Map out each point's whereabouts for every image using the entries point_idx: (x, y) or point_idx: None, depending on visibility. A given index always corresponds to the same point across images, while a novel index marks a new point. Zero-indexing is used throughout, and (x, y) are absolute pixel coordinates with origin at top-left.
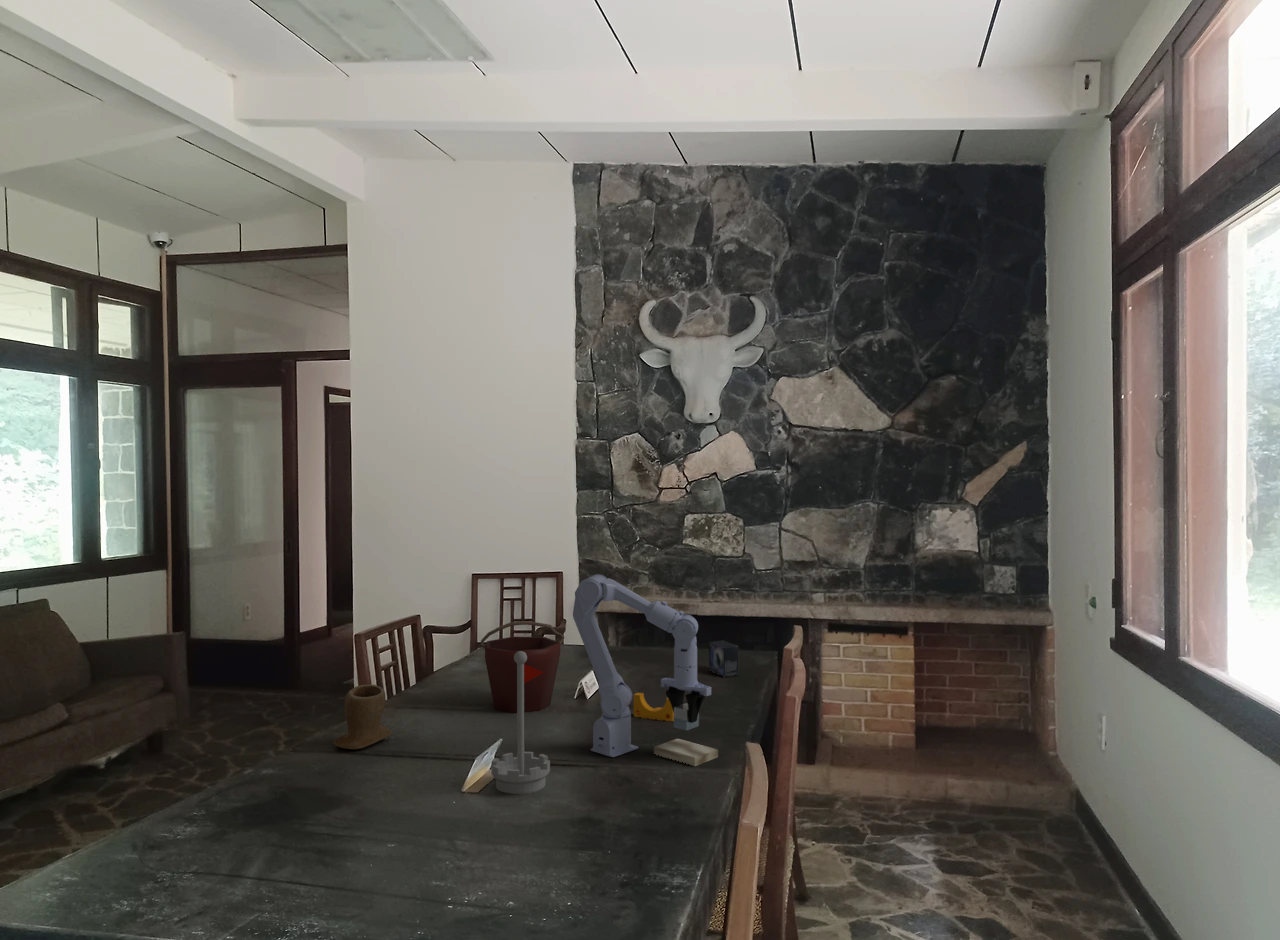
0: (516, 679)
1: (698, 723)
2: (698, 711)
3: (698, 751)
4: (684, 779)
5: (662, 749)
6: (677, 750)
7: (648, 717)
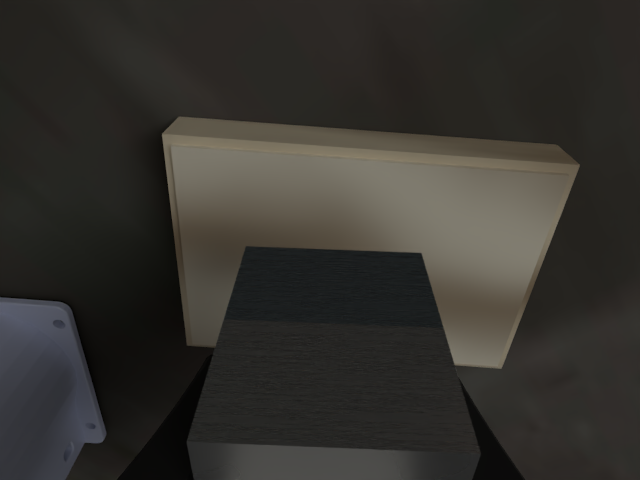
0: None
1: (425, 274)
2: (512, 472)
3: (469, 283)
4: (516, 454)
5: None
6: None
7: None
